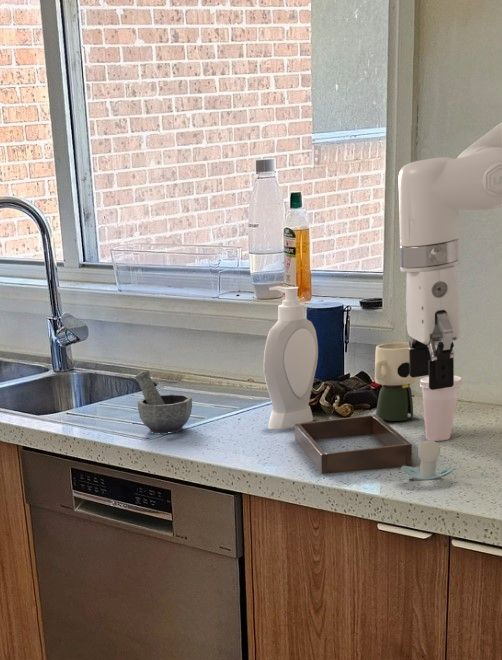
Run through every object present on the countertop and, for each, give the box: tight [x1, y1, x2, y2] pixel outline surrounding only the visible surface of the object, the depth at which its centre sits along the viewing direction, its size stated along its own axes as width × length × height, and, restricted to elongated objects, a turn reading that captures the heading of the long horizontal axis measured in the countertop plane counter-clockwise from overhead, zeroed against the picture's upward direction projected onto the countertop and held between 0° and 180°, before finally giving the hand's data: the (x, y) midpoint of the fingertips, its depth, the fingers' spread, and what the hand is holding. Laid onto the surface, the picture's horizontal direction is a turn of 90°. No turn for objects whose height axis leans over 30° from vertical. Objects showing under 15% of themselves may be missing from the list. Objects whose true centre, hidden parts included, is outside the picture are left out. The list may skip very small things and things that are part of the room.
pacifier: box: [401, 439, 456, 483], centre depth 177 cm, size 7×6×6 cm
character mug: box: [374, 341, 418, 422], centre depth 213 cm, size 11×7×13 cm, turn 126°
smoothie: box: [419, 375, 463, 442], centre depth 197 cm, size 6×6×14 cm
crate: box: [294, 413, 413, 475], centre depth 198 cm, size 14×23×4 cm, turn 176°
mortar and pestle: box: [134, 370, 193, 433], centre depth 225 cm, size 11×9×12 cm
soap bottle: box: [263, 285, 319, 430], centre depth 217 cm, size 13×8×24 cm, turn 121°
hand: (431, 381), depth 173 cm, fingers open, 9 cm apart
